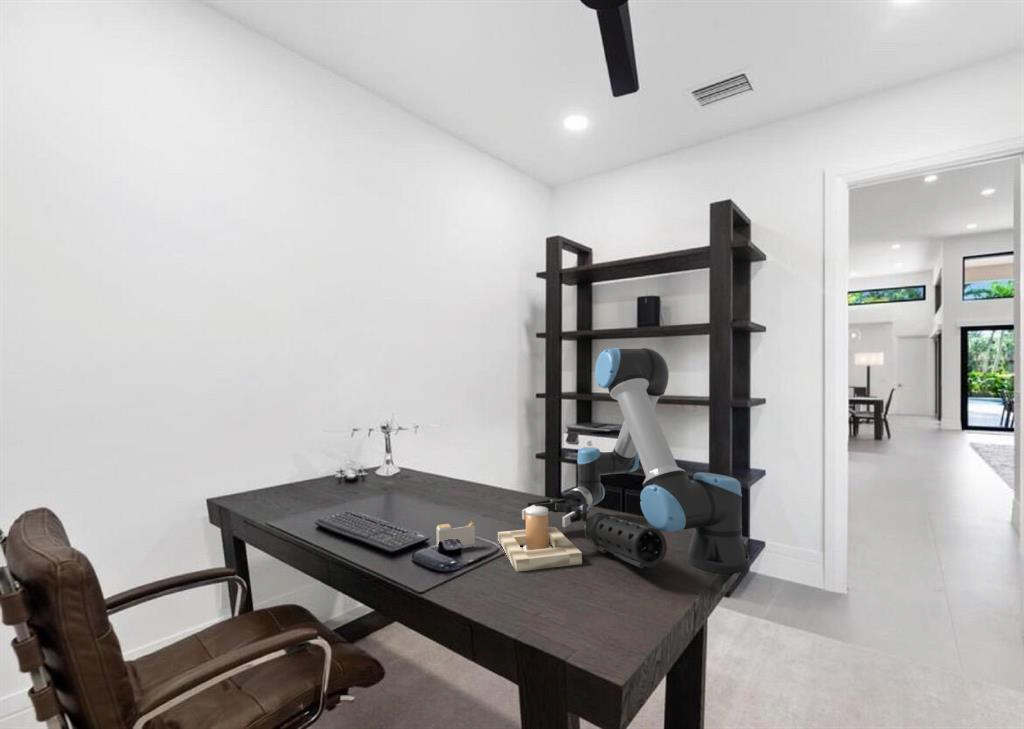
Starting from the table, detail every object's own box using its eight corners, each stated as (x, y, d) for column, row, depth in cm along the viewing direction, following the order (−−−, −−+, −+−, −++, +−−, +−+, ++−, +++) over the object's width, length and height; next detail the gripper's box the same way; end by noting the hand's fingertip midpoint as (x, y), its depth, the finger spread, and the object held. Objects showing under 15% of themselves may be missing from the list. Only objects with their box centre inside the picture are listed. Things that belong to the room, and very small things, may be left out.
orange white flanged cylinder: (556, 556, 137) (555, 512, 137) (527, 559, 135) (526, 515, 135) (546, 545, 145) (546, 504, 145) (519, 548, 143) (518, 506, 143)
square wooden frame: (581, 563, 132) (581, 552, 132) (516, 571, 127) (516, 560, 127) (554, 536, 153) (554, 526, 153) (497, 542, 149) (497, 532, 149)
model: (436, 550, 144) (436, 524, 144) (471, 545, 148) (471, 519, 148) (439, 554, 141) (438, 527, 141) (475, 548, 145) (474, 522, 145)
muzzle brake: (625, 559, 117) (644, 519, 120) (574, 537, 143) (591, 505, 146) (656, 578, 118) (674, 539, 122) (600, 553, 145) (616, 521, 148)
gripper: (612, 518, 153) (582, 539, 136) (543, 507, 167) (507, 524, 150) (612, 494, 153) (581, 511, 136) (542, 485, 167) (507, 499, 150)
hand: (542, 518), depth 143 cm, fingers open, 13 cm apart
